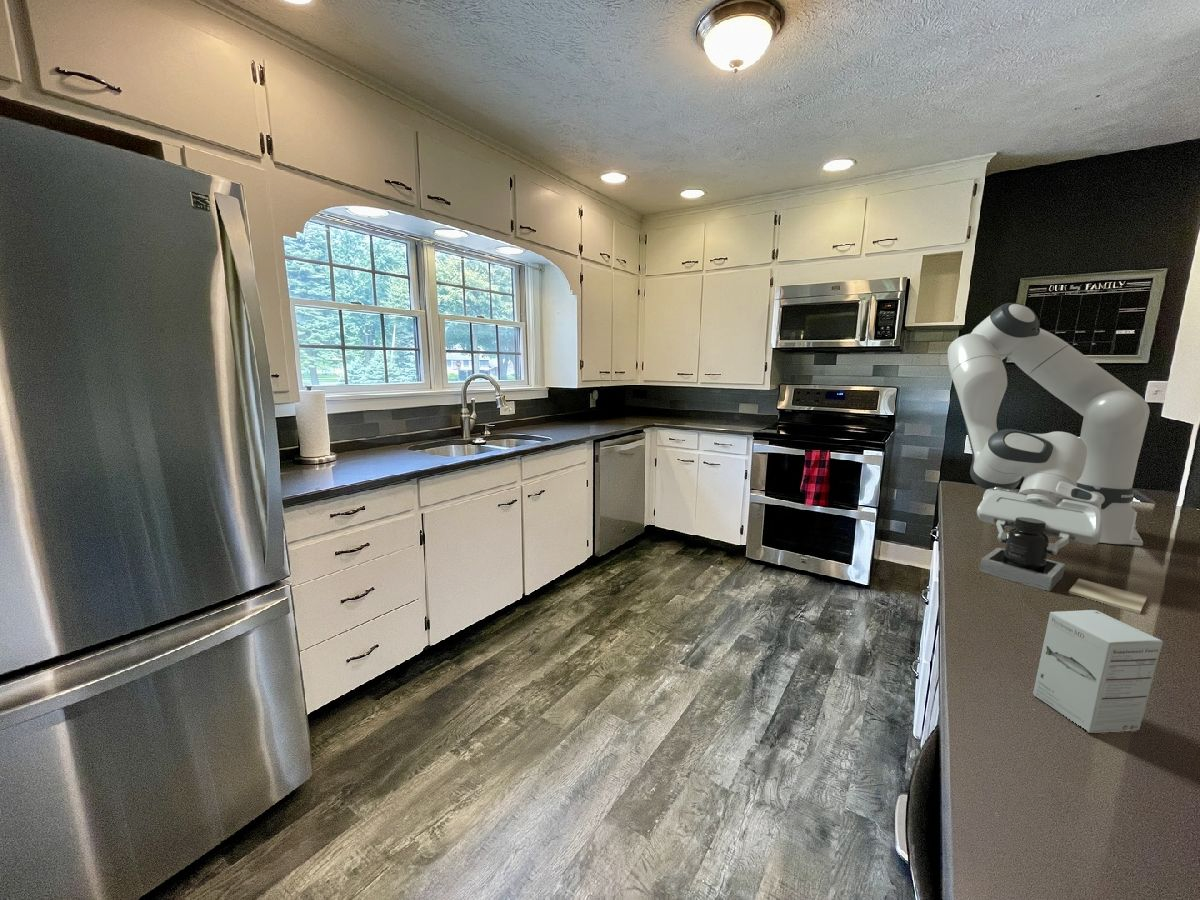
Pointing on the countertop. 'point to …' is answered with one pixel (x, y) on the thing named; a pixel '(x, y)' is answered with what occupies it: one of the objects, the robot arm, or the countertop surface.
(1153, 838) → the countertop surface
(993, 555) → the steel holder
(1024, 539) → the supplement bottle
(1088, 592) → the birch pad
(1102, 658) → the supplement box
